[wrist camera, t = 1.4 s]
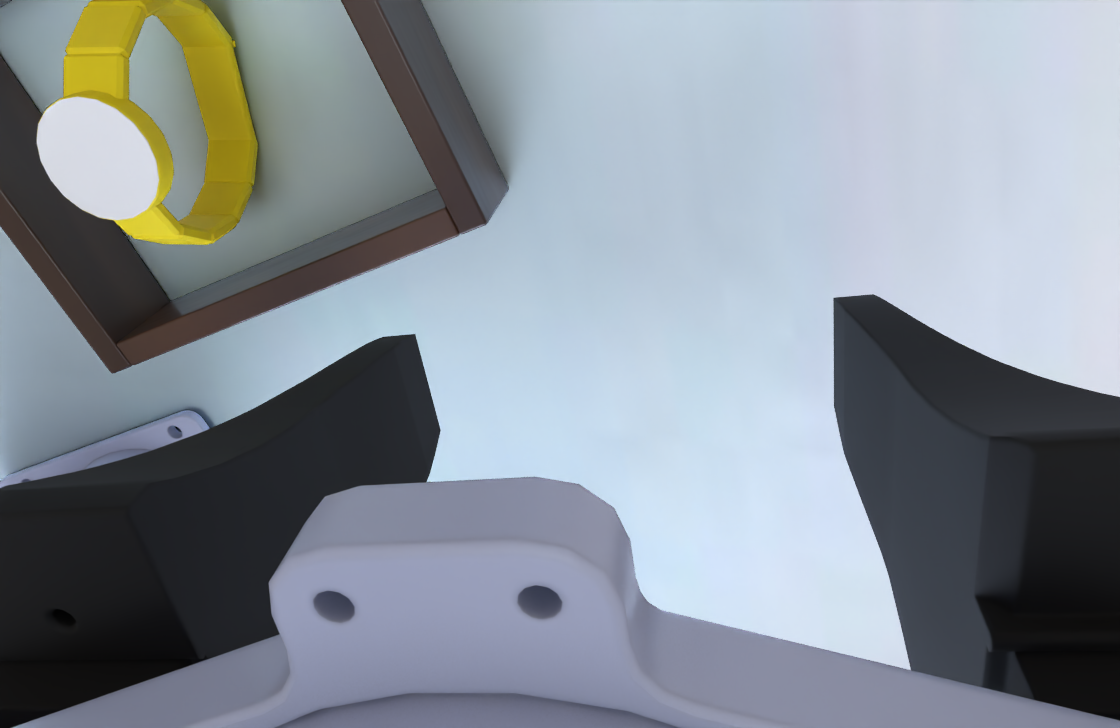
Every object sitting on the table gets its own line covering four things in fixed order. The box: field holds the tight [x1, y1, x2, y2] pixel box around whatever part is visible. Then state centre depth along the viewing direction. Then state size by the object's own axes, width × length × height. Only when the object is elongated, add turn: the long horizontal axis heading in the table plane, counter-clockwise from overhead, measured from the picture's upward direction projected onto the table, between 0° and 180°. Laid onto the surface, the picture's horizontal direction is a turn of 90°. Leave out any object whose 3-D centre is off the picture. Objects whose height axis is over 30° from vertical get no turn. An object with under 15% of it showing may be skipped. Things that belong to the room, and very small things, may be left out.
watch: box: [37, 0, 258, 245], centre depth 20 cm, size 6×3×6 cm, turn 2°
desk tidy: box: [0, 0, 508, 373], centre depth 22 cm, size 13×11×3 cm
